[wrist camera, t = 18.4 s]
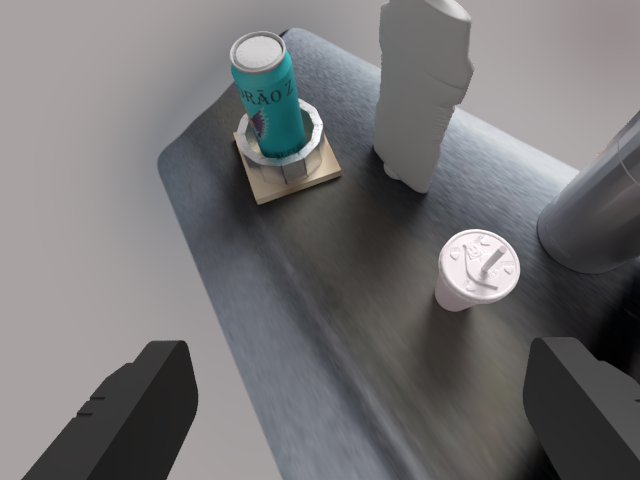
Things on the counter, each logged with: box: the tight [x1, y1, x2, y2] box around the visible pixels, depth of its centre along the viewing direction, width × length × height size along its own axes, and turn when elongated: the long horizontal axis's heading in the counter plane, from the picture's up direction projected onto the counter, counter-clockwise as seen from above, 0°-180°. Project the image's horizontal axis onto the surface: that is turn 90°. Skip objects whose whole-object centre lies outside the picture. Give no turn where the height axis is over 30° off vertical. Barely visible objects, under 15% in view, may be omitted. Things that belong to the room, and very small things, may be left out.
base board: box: [233, 130, 341, 205], centre depth 48 cm, size 11×11×1 cm
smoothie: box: [435, 229, 520, 312], centre depth 34 cm, size 6×6×14 cm
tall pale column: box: [373, 0, 475, 194], centre depth 37 cm, size 11×4×22 cm, turn 36°
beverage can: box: [230, 31, 306, 159], centre depth 41 cm, size 6×6×15 cm
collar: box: [236, 99, 325, 185], centre depth 46 cm, size 10×10×4 cm
